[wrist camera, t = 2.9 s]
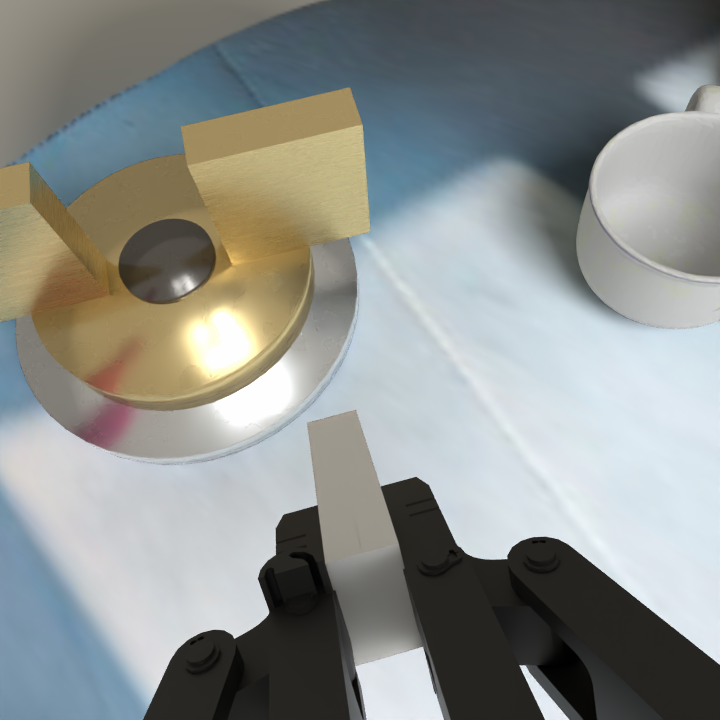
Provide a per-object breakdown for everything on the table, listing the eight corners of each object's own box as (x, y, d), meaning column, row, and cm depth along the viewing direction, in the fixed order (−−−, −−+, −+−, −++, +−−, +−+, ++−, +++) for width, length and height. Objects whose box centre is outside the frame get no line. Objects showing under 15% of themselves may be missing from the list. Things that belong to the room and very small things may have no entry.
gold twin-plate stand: (172, 131, 42) (105, -17, 33) (386, 237, 37) (381, 100, 28) (-26, 335, 36) (-179, 228, 27) (198, 492, 32) (109, 430, 22)
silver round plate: (174, 131, 45) (166, 113, 43) (421, 253, 39) (422, 238, 38) (-40, 352, 38) (-58, 340, 37) (219, 537, 33) (211, 533, 31)
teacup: (710, 381, 34) (793, 313, 27) (530, 304, 37) (561, 224, 30) (774, 203, 39) (859, 104, 32) (609, 146, 42) (654, 43, 34)
